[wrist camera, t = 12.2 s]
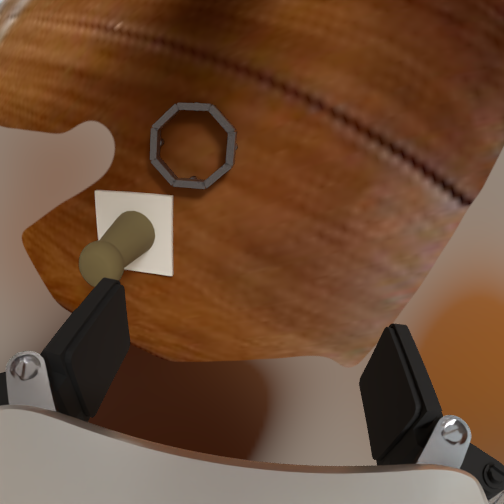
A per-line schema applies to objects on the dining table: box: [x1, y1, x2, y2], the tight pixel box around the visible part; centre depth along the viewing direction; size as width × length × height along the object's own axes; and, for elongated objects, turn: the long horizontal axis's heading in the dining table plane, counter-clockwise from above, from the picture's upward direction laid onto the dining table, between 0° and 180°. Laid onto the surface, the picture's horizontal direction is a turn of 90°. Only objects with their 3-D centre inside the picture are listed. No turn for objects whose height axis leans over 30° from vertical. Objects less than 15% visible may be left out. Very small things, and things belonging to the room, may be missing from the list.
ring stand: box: [150, 102, 238, 189], centre depth 35 cm, size 10×10×2 cm
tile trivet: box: [95, 190, 173, 276], centre depth 41 cm, size 11×11×1 cm
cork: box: [79, 211, 155, 287], centre depth 35 cm, size 6×6×11 cm
